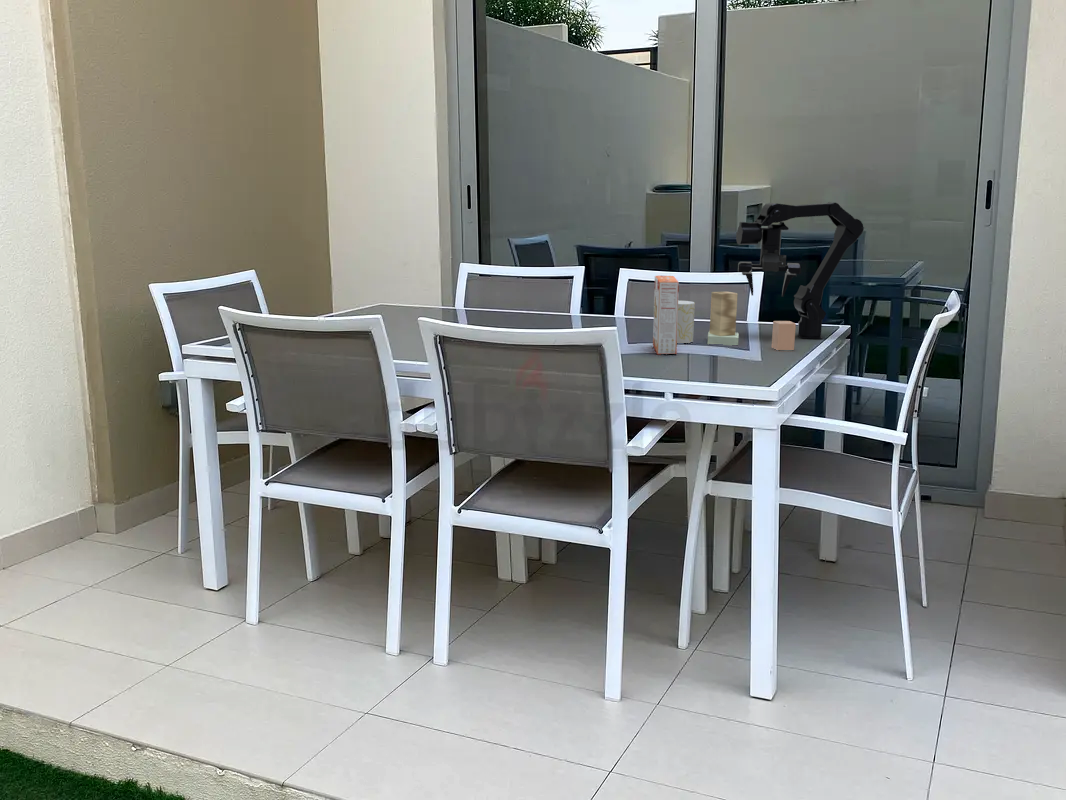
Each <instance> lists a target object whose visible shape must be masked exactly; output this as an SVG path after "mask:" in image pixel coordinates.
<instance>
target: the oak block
mask: <svg viewBox="0 0 1066 800" xmlns="http://www.w3.org/2000/svg"><path fill="white" fill-rule="evenodd" d="M710 296H711V298H710V318H709V320H710V321H709V332H710V334H714V335H718V336H728V335H735V333H736V325H737V313H738V312H737V311H738V310H737V308H738V296H739V295H738V293H737V292H731V291H711V295H710Z"/></svg>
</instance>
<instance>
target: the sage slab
mask: <svg viewBox="0 0 1066 800" xmlns="http://www.w3.org/2000/svg"><path fill="white" fill-rule="evenodd" d="M739 335H740V334H739V332H735V335H728V336H718V335H714V334H710V331H708V332H707V345H709V344H723V345H722V346H732V345H738V346H739V338H740V337H739Z"/></svg>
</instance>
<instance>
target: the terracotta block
mask: <svg viewBox="0 0 1066 800" xmlns="http://www.w3.org/2000/svg"><path fill="white" fill-rule="evenodd" d="M796 326H797V324H796V323H795V322H793V321H790V320H773V323H772V334H771V335H772V336H771V349H772V348H774V349H776V350H794V351H795V343H796V342H795V341H796V340H795V339H796ZM774 349H773V350H774ZM776 350H775V351H776Z"/></svg>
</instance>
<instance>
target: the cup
mask: <svg viewBox="0 0 1066 800" xmlns="http://www.w3.org/2000/svg"><path fill="white" fill-rule="evenodd" d="M695 307H696V303H695V302H694V301H690V300H678V324H677V343H690V342H693V343H694V326H695Z"/></svg>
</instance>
